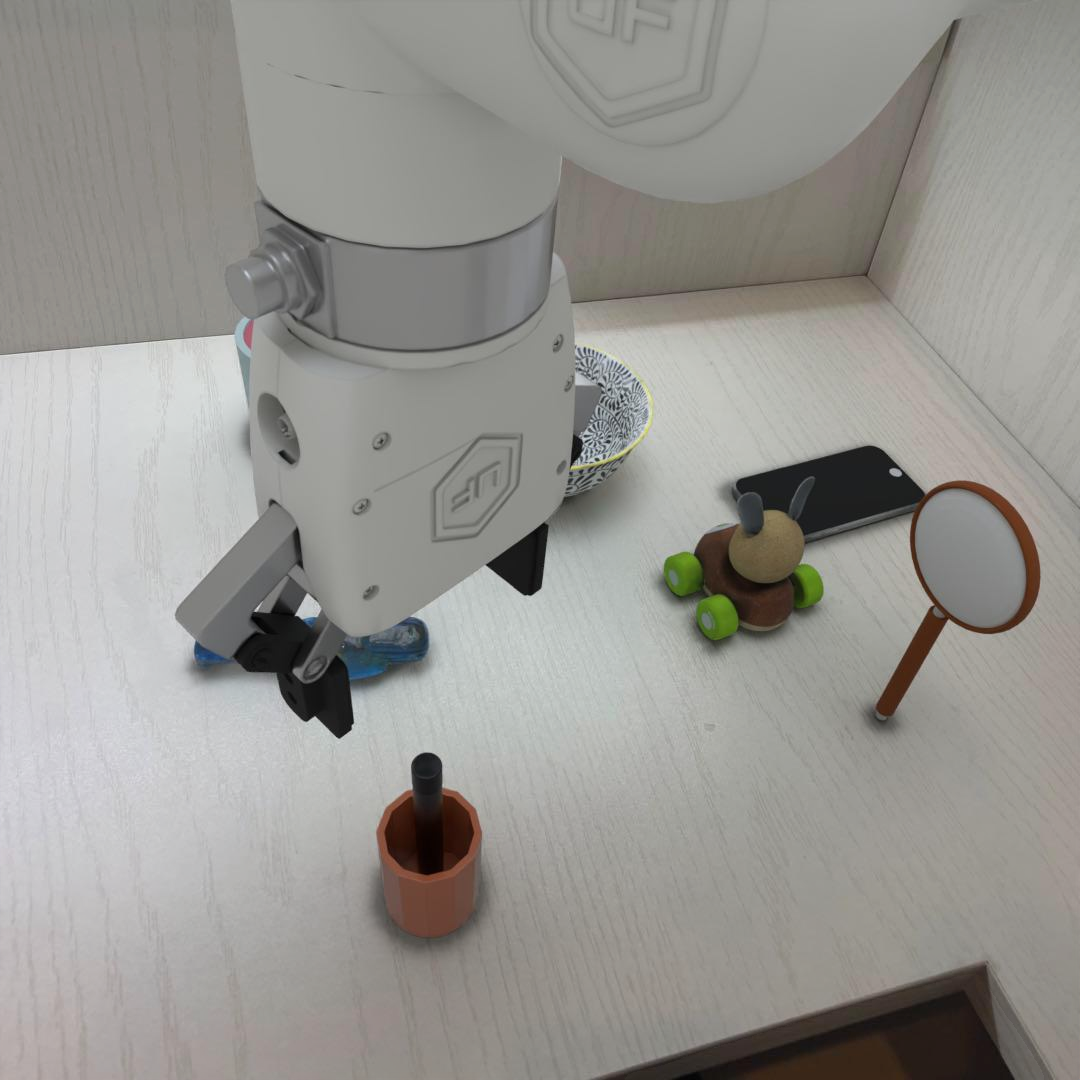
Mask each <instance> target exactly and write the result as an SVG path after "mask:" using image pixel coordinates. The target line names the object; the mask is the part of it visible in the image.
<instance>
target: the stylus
mask: <svg viewBox="0 0 1080 1080" xmlns="http://www.w3.org/2000/svg"><path fill="white" fill-rule="evenodd" d="M410 776H411V787H412V789H413V801H414V817H415V833H416V849H417V865H418V873H419V874H423V875H426V876H427V875H431V874H435V873H439V872H443V871H444V848H443V796H442V788H443V782H444V781H443V780H444V777H443V760H441V758H440V757H439V756H438V755H437V754H436V753H434V752H429V751H427V752H425V751H424V752H421V753H419V754H417V755H416V756H415V757H414V758H413V759H412V761H411V764H410Z"/></svg>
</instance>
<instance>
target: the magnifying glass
mask: <svg viewBox="0 0 1080 1080" xmlns="http://www.w3.org/2000/svg"><path fill="white" fill-rule="evenodd" d="M925 494H926V495H925V496H924V497H923V499H922V500H921V501H920V503H919V504H918V506H917V508H916V510H914V512H913V514H912V519H911V522H910V529H909V546H910V547H909V548H910V554H911V555H910V556H911V560H912V563H913V567H914V571H915V573H916V576H917V579H918V581H919V582H920V585H921V587H922V589H923V590H924V592H925V594H926V595H927V597H928V598H929V600H930V601H931V602H932V604H933V605H931V606H929V608H928V610H927V611H926V614H925V615H924V617H923V619H922V621H921V623H920V625H919V626H918V628H917V630H916V632H915V633H914V635H913V637H912V639H911V641H910V642H909V644H908V646H907V648H906V650H905V651H904V654H903V656H902V657H901V659H900V661H899V663H898V665H897V666H896V668H895V670H894V672H893V673H892V676H891V677H890V679H889V681H888V683H887V685H886V687H885V688H884V690H883V691H882V693H881V695H880V696H879V699H878V701H877V703H876V704H875V709H876V711H875V718H877V719H878V720H879V721H886V720H887V718H889V717H893V715H894V714H895V712H896V711H897V709H898V707H899V706H900V703H901V702H902V700H903V698H904V696H905V695H906V693H907V691H908V690H909V689H910V686H911V685H912V683H913V681H914V679H915V678H916V676H917V675H918V672H919V671H920V669H921V667H923V664H924V662H925V661H926V659H927V657H928V655H929V654H930V652H931V650H932V648H933V647H934V645H935V643H936V642H937V640H938V639H939V636H940V635H941V633H942V631H943V629H944V627H946V625H947V622H948V621H950V622H952V623H953V624H955V625H957V626H958V627H960V628H962V629H965V630H967V631H970V632H972V633H977V634H981V635H982V634H983V635H995V634H996V635H997V634H1001V633H1005V632H1007V631H1010V630H1012V629H1014V628H1015V627H1017V626H1019V625H1020V624H1021V623H1022V622H1024V621H1025V620H1026V618H1027V617H1028V616H1029V614H1030V613H1031V612H1032V610H1033V608H1034V606H1035V605H1036V602H1037V599H1038V597H1039V592H1040V588H1041V576H1042V575H1041V562H1040V555H1039V553H1038V548H1037V546H1036V542H1035V540H1034V537H1033V535H1032V533H1031V530H1030V528H1029V527H1028V524H1027V523H1026V522H1025V520H1024V518H1023V516H1022V515H1021V514H1020V513H1019V511H1018V509H1016V507H1015V506H1014V505H1012V503H1011V502H1010V501H1009V500H1008V499H1006V498H1005V497H1004V496H1003V495H1002V494H1000V493H999V492H997V491H996V490H995V489H993V488H991V487H989V486H987V485H985V484H982V483H979V482H976V481H971V480H966V479H965V480H962V479H961V480H951V481H946V482H944V483H941V484H939V485H936V486H934V487H933V488H932V489H930V490H929V491H928V492H927V493H925Z"/></svg>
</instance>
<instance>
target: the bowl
mask: <svg viewBox="0 0 1080 1080" xmlns="http://www.w3.org/2000/svg"><path fill="white" fill-rule="evenodd" d="M575 371H576V372H578V373H580V374H581V375H583V376H584V377H586V378H588V379H589V380H591V381H592V382H594V383H595V384H597V385H599V386H600V387H601V388H602V394H601V397H600V400H599V402H598V404H597V406H596V408H595V411H594V413H593V415H592V417H591V419H590V422H589V424H588V426H587V428H586V430H585V432H581V434H580V436H579V438H580V439H582V441H583V447H582V453H581V455H580V457H579V458H578V459H577V460H576V461H575V462H574V464H573V465H572V467H571V468H570V470H569V477H568V482H567V487H566V491H565V495H564V498H567V497H572V496H576V495H579V494H582V493H586V492H587V491H590V490H591V489H594V488H595V487H597V486H599V485H600V484H602V483H603V482H605V481H606V480H607V479H609V478H610V477H611V476H613V475H614V473H615V472H617V470H618V469H619V468H620V467H621V466H622V464H623V463H624V462H625V461H626V459H627V458H628V456H629V455H630V453H631V452H632V451H633V450H634V449H635V448H636V447H638V445H639V444H640V443H641V441H642V440H643V439H644V438H645V436H646V435H647V433H648V431H649V429H650V427H651V424H652V421H653V417H654V402H653V399H652V395H651V393H650V390H649V388H648V387H647V385H646V383H645V382H644V380H643V379H642V378H641V377H640V375H639V374H638V373H637V372H636V371H635V370H634V369H633V368H631V367H630V366H629V365H627V364H626V363H625V362H623V361H622V360H620V359H619V358H617V357H615V356H614V355H612V354H610V353H608V352H606V351H604V350H601V349H599V348H597V347H593V346H590V345H588V344H587V345H586V344H583V343H580V342H575Z"/></svg>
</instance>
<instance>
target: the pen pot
mask: <svg viewBox="0 0 1080 1080" xmlns="http://www.w3.org/2000/svg"><path fill="white" fill-rule="evenodd" d="M442 796H443V848H444V871H443V872H439V873H435V874H431V875H427V876H426V875H423V874H419V873H418V865H417V849H416V833H415V817H414V801H413V788H412V789H409V790H406V791H404V792H403V793H401V795H399V796H398V797H396V799H394V800H393V801H392V802H391V803H390V804H388V805H387V806H386V807H385V808H384V811H383V814H382V815H381V818H380V821H379V824H378V826H377V828H376V832H375V835H376V842H377V850H378V858H379V867H380V874H381V875H380V876H381V883H382V890H383V894H384V901H385V902H384V903H385V906H386V911H387V912H388V914H389V915H390V917H391V919H392V921H393V922H394V923H395V924H396V925H397V926H398V927H399V928H400V929H402V930H403V931H405V932H407V933H408V934H411V935H412V936H415V937H421V938H438V937H439V938H440V937H443V936H445V935H449V934H451V933H453V932H455V931H456V930H458V929H459V928H460V927H462V926H463V925H464V924H465V923H466V922H467V921H468V920H469V918H470V917H471V915H472V914H473V912H474V910H475V908H476V906H477V902H478V899H479V898H478V897H479V892H480V889H481V869H482V845H483V831H482V826H481V823H480V819H479V815H478V812H477V809H476V807H475V806H473V804H471V803H470V802H469V800H467V799H466V798H465V797H464V796H463V795H462V794H461V793H460V792H459V791H457V790H454V789H449V788H445V787H442Z"/></svg>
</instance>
